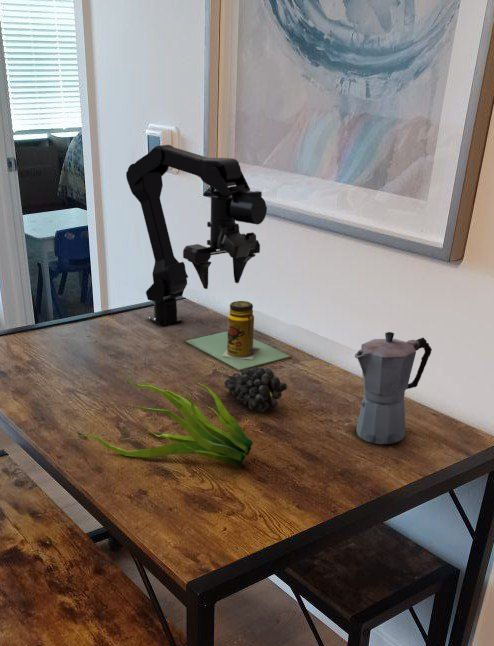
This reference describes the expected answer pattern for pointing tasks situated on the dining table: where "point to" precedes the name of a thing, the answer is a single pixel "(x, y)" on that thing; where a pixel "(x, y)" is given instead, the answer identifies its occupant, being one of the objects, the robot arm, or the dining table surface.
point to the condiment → (240, 331)
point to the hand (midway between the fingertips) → (221, 285)
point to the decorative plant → (195, 432)
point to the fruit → (256, 388)
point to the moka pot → (387, 386)
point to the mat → (217, 348)
